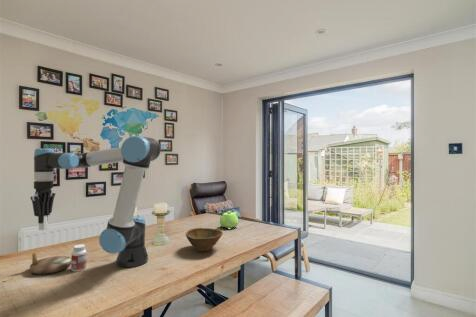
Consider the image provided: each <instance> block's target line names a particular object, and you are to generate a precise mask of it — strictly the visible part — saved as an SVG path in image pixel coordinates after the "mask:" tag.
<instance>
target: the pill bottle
mask: <svg viewBox="0 0 476 317" xmlns="http://www.w3.org/2000/svg"><path fill="white" fill-rule="evenodd" d="M70 258H71V264H70V270H71V271H72V272H81V271H84V270H86V268H87V250H86V245H85V244H83V243H81V244H80V243H79V244H75V245H74V246H73V250H72V252H71V257H70Z"/></svg>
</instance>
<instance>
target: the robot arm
mask: <svg viewBox="0 0 476 317" xmlns="http://www.w3.org/2000/svg"><path fill="white" fill-rule="evenodd" d="M161 148H162V147H161V144H160V143H159V141H157V140H156V139H155V138H152V137H146V136H142V135H133V136H129V137H128V138H126V139H125V140H124V141H123V142H122V144H121V147H115V148H114V147H113V148H107V149H106V148H105V149H101V150H94V151H87V152H77V153H76V152H75V153H73V152H54V151H55V150H54V149H53V148H42V147H41V148H35V149H34V154H33V155H34V156H33V161H34V162H33V176H34V177H33V180H34V181H33V188H34V190H35V192H34V195H33V196H30V200H31V204H32V209H33V215H34V217H37V220H38V221H37V222H38V230H39V231H45V230H48V220H49V216H50V215H51V213H52V211H53V205H54V199H55V196H56V192H55V193H54V192H53V191H52V189H54V181H53V180H54V169H60V170H61V169H63V170H64V169H65V170H71V169H81V168H82V169H84V168H86V169H87V168H90V167H95V166H102V165H108V164H117V163H122V164H123V166H124V171H123V175H122V178H121V183H120V187H119V191H118V193H117V194H118V195H117V198H116V203H115V204H116V205H115V208H114V212H113V215H112V217H111V218H109V219H108V222H107V225H106V229H104V230H102V232H101V233H100V235H99V236H98V237H99V238H98V240H99V245H100V247H101V248H102V250H103V251H105V252H106V253H108V254H111V255H112V254H113V255H114V254H117V257H116V261H115V262H116V265H117V266H118V267H121V268H135V267H139V266H143V265H145V264H147V262H148V260H149V254H148V252H147V249H146V245H145V244H146V241H145V240H146V225H147V224H146V219H145V217H144V216H135V212H136V209H137V208H136V207H137V204H138V203H137V202H138V200H139V194H140V193H141V192H140V191H141V187H142V183H143V180H144V179H143V178H144V175H145V172H146V170H148V169H149V168H150V165H151V162H153V161H155V160H156V159H158V158H159V157H160V155H161V152H162V149H161Z"/></svg>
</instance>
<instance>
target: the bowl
mask: <svg viewBox="0 0 476 317" xmlns="http://www.w3.org/2000/svg"><path fill="white" fill-rule="evenodd" d="M223 234H224V232H223V231H222V230H220V229H218V228H217V229H216V228H209V227H207V228H206V227H195V228H192V229H189V230H187V231H186V232H185V237H186V239H187V241H188V242H189V243H190V245H191V246H193V247H192V248H194V249H195V250H196V251H197V252H209V251H212V249H213V248H214V246H216V244H218V242H219V240H220V239H221V237H222V236H223Z"/></svg>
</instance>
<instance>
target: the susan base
mask: <svg viewBox="0 0 476 317" xmlns="http://www.w3.org/2000/svg"><path fill="white" fill-rule="evenodd" d="M62 270H64V269H62ZM62 270H59V271H55V272H51V273H43V274H42V275H49V274H54V273H57V272H61V271H62Z"/></svg>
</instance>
